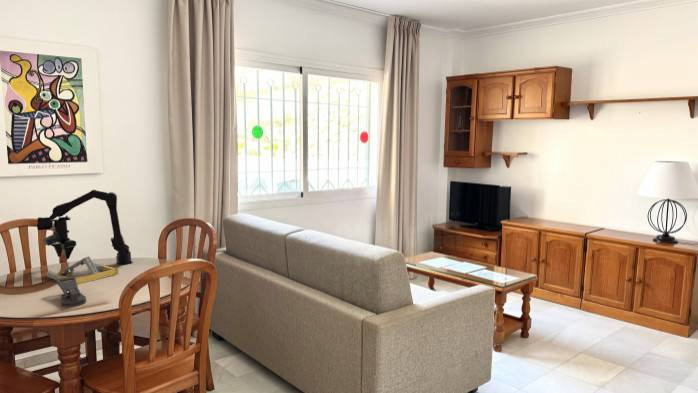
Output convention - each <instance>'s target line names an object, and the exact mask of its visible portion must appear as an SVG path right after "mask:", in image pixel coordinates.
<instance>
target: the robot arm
mask: <svg viewBox="0 0 698 393" xmlns="http://www.w3.org/2000/svg"><path fill="white" fill-rule="evenodd" d="M92 199H98V200H100V201H104V202H105V203H106V206H107V209H108V210H109V216H110V223H111V228H112V235H113V237H111V238H110V241H111V247H113V249H114V250H115V251H117V252H116V255H115V258H116V262H115V264H117V265H120V266H123V265H130V264H133V261H132V254H131V253H132V252H131V251H130V246H129V245H128V244H127V243H126V242H125V239H124V236H123V235H122V231H121V226H120V221H119V220H120V219H119V215H118V207H117V206H118V194H116V193H115V192H113V191H110V192H106V191H100V190H96V189H92V190H91V191H89V192H87V193H84V194H83V195H81V196H79V197H76V198H75V199H72V200H71V201H68V202H67V201H66V202H64V203H60V204H58V205H56V206H55V207H53V208H52V214H50V215H49V216H46V217H37V221H36V228H37V232H38V231H40V232H41V231H51V230H52V228H54V231H52V234H50V235H49V236H46V237H45V238H43V239H42V241H43V243H44V245H45V246H48V247H49V246H52V248H54V251H55V253H56V255H57V257H58V258H60V257H61V256H62V253H63V252H64V256H65V259H66V260H69V259H70V258H71V255H72V252H73V251H74V249H75V248H76V247H77V241H75V239H74V240H73V239H71V238H70V237H69V235H68V234H69V233H70V230H68V223H67V221H70V220H71V217H69V216H68V215H66V214H67V213H69V211H71V210H72V209H74V208H76V207H78V206H80V205H83V204H85V203H86V202H88V201H90V200H92ZM64 215H66V216H64ZM56 218H57V219H56ZM63 250H64V251H63Z"/></svg>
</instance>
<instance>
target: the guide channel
mask: <svg viewBox="0 0 698 393" xmlns="http://www.w3.org/2000/svg"><path fill="white" fill-rule="evenodd" d="M92 262H93V261H92ZM93 263H94V265H95V267H96V268H97V270H98V271H101V270H102V272H99V273H96V274H92V273H91V274H88V275H84V276H80V277H75V278H76V282H77V285H78V284H84V283H87V281H88V282H91V280H92V281H96V280H99V279H104V278H107V277H112V276H116V275H119V269H118V268H115V267H112V266H107V265H104V264H100V263H97V262H95V261H94V262H93ZM90 265H91V266H92V264H91V263H90ZM92 268H93V266H92ZM46 275H47V276H46V277H47V278H49V279H53V280H55V281H56V279H60V278H66V277H67V276H65V275H63V274H61V273H60V274H58V273H56V272H53V271H47V272H46ZM95 279H96V280H95ZM70 281H73V280H70ZM63 282H67V281H63Z"/></svg>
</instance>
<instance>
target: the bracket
mask: <svg viewBox="0 0 698 393" xmlns="http://www.w3.org/2000/svg"><path fill="white" fill-rule="evenodd" d="M94 263H95V262H94ZM94 263H93V260H92V259H91V257H90V256H86V257H84V258H82V259H80V260H79V261H77V262H75V263H74V264H72V265H70V266H68V267H66V268H64V269H63V270H61V271H60V272H58V273H57V274H60V275H61V274H63V273H64V274H68V273H73V272H75V268H77V267H79V266H83V265H85V266H87V268H88V270H89V272H90V273H91V275H92V274H96V273H100V271H99V270H98V269H97V268H96V267H95V265H94ZM91 264H92V266H93V268H92V266H91Z"/></svg>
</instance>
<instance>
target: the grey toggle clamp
mask: <svg viewBox="0 0 698 393" xmlns="http://www.w3.org/2000/svg"><path fill="white" fill-rule="evenodd" d="M76 278H77V277H76V276H66V278H60V279H56V280H55V282H56V283H57V285H58V287H59V289H60V290H61V291H62V294H60V295H61V306H62V307H63V308H71V307H77V306H81V305H85V304H86V303H87V296H85V295H84V294H82V292H81V291H80V290H79V287H78V284H77V282H76ZM70 280H73V281H70ZM63 281H67V282H63Z"/></svg>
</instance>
